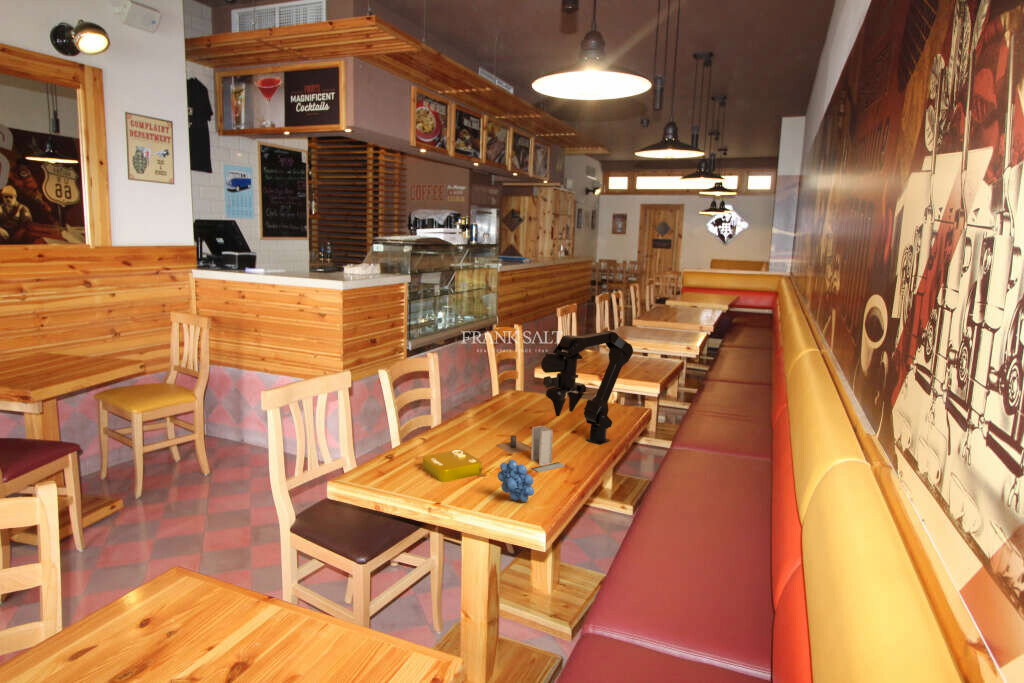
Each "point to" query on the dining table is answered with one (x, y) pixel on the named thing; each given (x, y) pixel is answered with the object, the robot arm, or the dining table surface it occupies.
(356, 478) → the dining table surface
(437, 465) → the element tile
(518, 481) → the blue ball cluster
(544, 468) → the slate mat
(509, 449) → the walnut stand
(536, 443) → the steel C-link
